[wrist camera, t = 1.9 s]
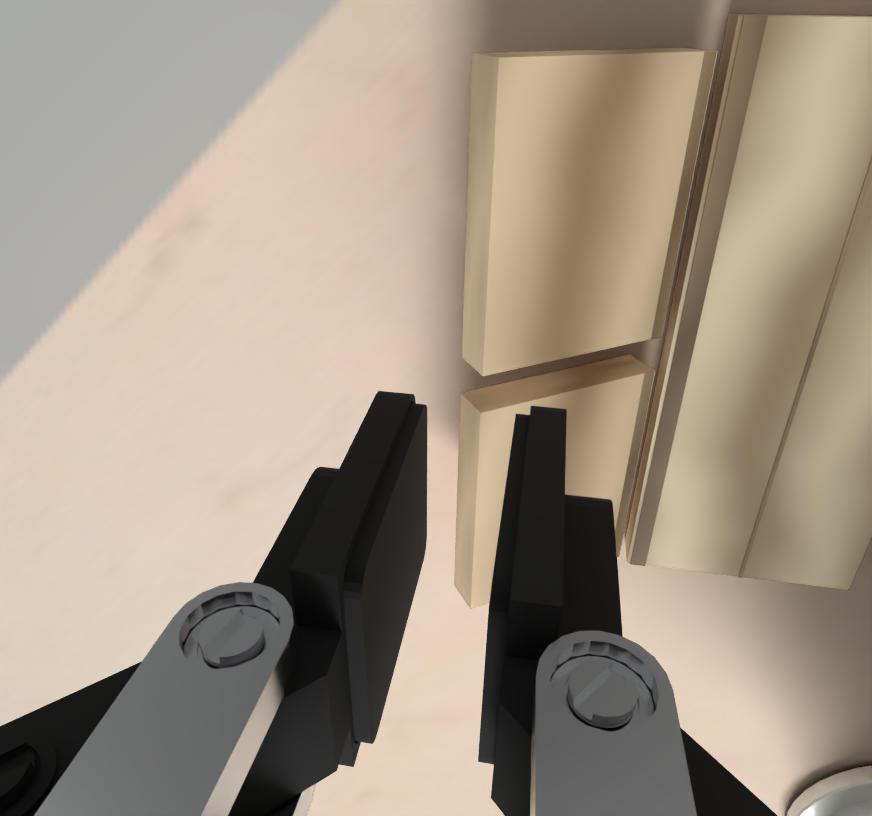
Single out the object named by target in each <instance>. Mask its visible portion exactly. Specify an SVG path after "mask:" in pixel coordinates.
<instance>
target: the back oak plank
mask: <svg viewBox="0 0 872 816" xmlns="http://www.w3.org/2000/svg"><path fill="white" fill-rule="evenodd" d="M654 375H655V370H654V369H652V368H651V367H649V366H648V365H646V364H644V363H643V362H641V361H640V360H638V359H637V358H635V357H633V356H632V355H630V354H629V355H625V356H620V357H616V358H612V359H607V360H603V361H598V362H594V363H590V364H585V365H581V366H576V367H572V368H568V369H563V370H559V371H555V372H550V373H546V374H541V375H537V376H533V377H528V378H524V379H519V380H515V381H511V382H506V383H502V384H498V385H493V386H489V387H484V388H480V389H476V390H471V391H467V392H462V393H461V396H460V426H459V456H458V486H457V516H456V546H455V576H454V585H455V587H456V588H457V590H458V591H459V593H460V594H461V596H462V597H463V599H464V600H465V602H466V603H467V605H468V606H469V608H470V609H473V608H476V607H479V606H481V605H484V604H487V603H490V594H491V586H492V578H493V570H494V563H495V556H496V549H497V542H498V535H499V528H500V521H501V514H502V507H503V500H504V493H505V486H506V479H507V472H508V465H509V458H510V451H511V444H512V437H513V430H514V423H515V416H516V414H526V415H530V409H531V406H540V407H551V408H561V409H567V422H566V467H565V494H566V495H575V496H584V497H593V498H602V499H611V501H612V503H613V512H614V525H615V539H616V553H617V557H619V555H620V550H621V545H622V539H623V534H624V529H625V524H626V519H627V514H628V509H629V504H630V498H631V493H632V488H633V483H634V478H635V473H636V468H637V463H638V457H639V452H640V447H641V442H642V437H643V432H644V427H645V422H646V416H647V411H648V406H649V401H650V396H651V391H652V386H653V381H654Z"/></svg>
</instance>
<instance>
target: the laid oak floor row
mask: <svg viewBox="0 0 872 816" xmlns="http://www.w3.org/2000/svg"><path fill="white" fill-rule="evenodd" d="M871 538H872V16H836V15H776V14H729V17H728V22H727V27H726V33H725V38H724V43H723V48H722V53H721V58H720V63H719V68H718V73H717V78H716V83H715V88H714V93H713V98H712V103H711V108H710V113H709V118H708V124H707V129H706V134H705V139H704V144H703V149H702V154H701V159H700V164H699V169H698V174H697V179H696V184H695V189H694V194H693V199H692V204H691V210H690V215H689V220H688V225H687V230H686V235H685V240H684V245H683V250H682V255H681V260H680V265H679V270H678V275H677V280H676V285H675V290H674V295H673V301H672V306H671V311H670V316H669V321H668V326H667V331H666V336H665V341H664V346H663V351H662V356H661V361H660V366H659V371H658V376H657V381H656V386H655V392H654V397H653V402H652V407H651V412H650V417H649V422H648V427H647V432H646V437H645V442H644V447H643V452H642V457H641V462H640V467H639V472H638V477H637V483H636V488H635V493H634V498H633V503H632V508H631V513H630V518H629V523H628V528H627V533H626V538H625V545H626V557H627V563H630V564H634V565H642V566H645V565H651V566H659V567H667V568H675V569H683V570H691V571H699V572H707V573H715V574H723V575H732V576H738V577H741V578H742V577H748V578H756V579H764V580H772V581H780V582H788V583H796V584H804V585H812V586H820V587H828V588H836V589H844V590H849V588H850V586H851V584H852V581H853V579H854V577H855V574H856V572H857V570H858V568H859V565H860V563H861V561H862V558H863V556H864V554H865V551H866V549H867V547H868V545H869V542H870V540H871Z"/></svg>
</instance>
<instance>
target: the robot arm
mask: <svg viewBox="0 0 872 816" xmlns="http://www.w3.org/2000/svg"><path fill="white" fill-rule="evenodd" d="M566 422H567V409H561V408H551V407H540V406H531V409H530V415H526V414H516V416H515V423H514V430H513V437H512V444H511V451H510V458H509V465H508V472H507V479H506V486H505V493H504V500H503V507H502V514H501V521H500V528H499V535H498V542H497V549H496V556H495V563H494V570H493V578H492V586H491V594H490V604H489V615H488V629H487V643H486V657H485V672H484V686H483V700H482V714H481V729H480V743H479V757H478V762H484V763H490V764H494V771H493V782H492V793H491V798H492V800H493V801H494V802H495V803H496V805H497V806H498V807H499V809H500V810H501V811H502V812H503V814H504V815H505V816H777V815H776V814H775V813H774V812H773V811H772V810H771V809H769V808H768V807H767V806H766V805H765V804H764V803H763V802H762V801H761V800H760V799H758V798H757V797H756V796H755V795H754V794H753V793H752V792H751V791H750V790H749V789H747V788H746V787H745V786H744V785H743V784H742V783H741V782H740V781H739V780H738V779H736V778H735V777H734V776H733V775H732V774H731V773H730V772H729V771H728V770H727V769H725V768H724V767H723V766H722V765H721V764H720V763H719V762H718V761H717V760H716V759H714V758H713V757H712V756H711V755H710V754H709V753H708V752H707V751H706V750H704V749H703V748H702V747H701V746H700V745H699V744H698V743H697V742H696V741H695V740H693V739H692V738H691V737H690V736H689V735H688V734H687V733H686V732H685V731H684V730H682V729H681V728H680V724H679V719H678V714H677V708H676V703H675V698H674V693H673V689H672V687H671V684H670V681H669V679H668V676H667V673H666V672H665V671H664V669H663V668H662V667H661V665H660V664H659V663H658V661H657V660H656V659H655V657H654V656H652V655H651V654H650V653H648V652H647V651H646V650H645V649H643V648H642V647H641V646H640V645H638V644H637V643H635V642H632V641H630V640H628V639H626V638H624V637H622V623H621V609H620V595H619V581H618V567H617V553H616V539H615V525H614V512H613V503H612V501H611V499H602V498H593V497H584V496H575V495H566V494H565V467H566ZM426 538H427V406H426V405H423V404H416V403H415V396H414V395H413V394H404V393H394V392H383V391H378V393H377V394H376V396H375V398H374V400H373V402H372V404H371V406H370V408H369V410H368V412H367V414H366V416H365V418H364V420H363V422H362V424H361V426H360V428H359V430H358V432H357V434H356V436H355V438H354V440H353V442H352V444H351V446H350V448H349V450H348V452H347V454H346V457H345V459H344V461H343V463H342V465H341V467H340V469H335V468H326V467H319V468H317V469H316V470H315V471H314V472H313V474H312V475H311V477H310V479H309V481H308V483H307V484H306V486H305V488H304V490H303V492H302V494H301V495H300V497H299V499H298V501H297V503H296V505H295V506H294V508H293V510H292V512H291V514H290V516H289V517H288V519H287V521H286V523H285V525H284V527H283V528H282V530H281V532H280V534H279V536H278V538H277V539H276V541H275V543H274V545H273V547H272V549H271V550H270V552H269V554H268V556H267V558H266V560H265V561H264V563H263V565H262V567H261V569H260V571H259V572H258V574H257V576H256V578H255V580H254V582H253V583H243V582H238V583H232V584H226V585H221V586H218V587H215V588H213V589H210V590H208V591H205V592H203V593H201V594H199V595H198V596H196V597H195V598H193V599H192V600H190V601H189V602H187V603H186V604H185V605H184V606H183V607H182V608H181V609H180V610H179V611H178V613H177V614H176V615H175V616H174V617H173V618H172V620H171V621H170V623H169V624H168V625H167V627H166V628H165V630H164V631H163V633H162V634H161V635H160V637H159V638H158V640H157V641H156V642H155V644H154V645H153V647H152V648H151V650H150V651H149V652H148V654H147V655H146V657H145V658H144V660H143V661H142V662H140V663H138V664H135V665H133V666H131V667H129V668H127V669H125V670H122V671H120V672H118V673H116V674H114V675H111V676H109V677H107V678H105V679H103V680H101V681H98V682H96V683H94V684H92V685H90V686H87V687H85V688H83V689H81V690H79V691H77V692H74V693H72V694H70V695H68V696H66V697H63V698H61V699H59V700H57V701H55V702H53V703H50V704H48V705H46V706H44V707H42V708H39V709H37V710H35V711H33V712H31V713H29V714H26V715H24V716H22V717H20V718H18V719H15V720H13V721H11V722H9V723H7V724H5V725H2V726H0V816H307V814H308V811H309V808H310V806H311V803H312V800H313V795H314V790H315V784H316V783H317V782H319V781H321V780H322V779H324V778H326V777H327V776H329V775H330V774H332V773H334V772H335V771H337V768H338V764H340V765H346V766H351V767H354V764H355V760H356V757H357V753H358V750H359V746H360V743H361V742H365V743H371V744H372V743H373V742H374V740H375V738H376V735H377V732H378V728H379V724H380V720H381V717H382V713H383V709H384V706H385V702H386V698H387V694H388V691H389V687H390V683H391V679H392V676H393V672H394V668H395V664H396V661H397V657H398V653H399V650H400V646H401V642H402V638H403V635H404V631H405V627H406V623H407V620H408V616H409V612H410V608H411V605H412V601H413V597H414V593H415V590H416V586H417V582H418V579H419V575H420V571H421V567H422V564H423V560H424V555H425V549H426ZM787 816H872V765H870V766H864V767H858V768H854V769H850V770H847V771H843V772H840V773H837V774H834V775H832V776H830V777H827V778H825V779H823V780H820V781H819V782H817V783H815V784H814V785H812V786H811V787H809V788H808V789H806V790H805V791H804V792H803V793H802V794H801V795H800V796H799V797H798V798H797V799H796V800H795V801H794V802H793V804H792V805H791V807H790V809H789V811H788V813H787Z"/></svg>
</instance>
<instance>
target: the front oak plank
mask: <svg viewBox="0 0 872 816" xmlns="http://www.w3.org/2000/svg"><path fill="white" fill-rule="evenodd" d="M717 53H718V51H712V50H702V49H692V48H646V49H608V50H569V51H531V52H493V53H472V66H471V96H470V126H469V156H468V186H467V216H466V246H465V276H464V306H463V336H462V358H463V359H464V360H465V361H466V362H467V363H468V364H469V365H471V366H472V367H473V368H474V369H475V370H476V371H477V372H478V373H479V374H480V375H482V376H487V375H491V374H496V373H500V372H505V371H509V370H514V369H518V368H523V367H528V366H532V365H537V364H541V363H546V362H550V361H555V360H559V359H564V358H568V357H573V356H577V355H582V354H586V353H591V352H595V351H600V350H604V349H609V348H613V347H618V346H622V345H627V344H631V343H636V342H641V341H645V340H650V339H655V338H660V337H662V334H663V329H664V324H665V319H666V314H667V309H668V304H669V299H670V293H671V288H672V283H673V278H674V273H675V268H676V263H677V258H678V252H679V247H680V242H681V237H682V232H683V227H684V222H685V217H686V211H687V206H688V201H689V196H690V191H691V186H692V181H693V176H694V170H695V165H696V160H697V155H698V150H699V145H700V140H701V135H702V129H703V124H704V119H705V114H706V109H707V104H708V99H709V94H710V88H711V83H712V78H713V73H714V68H715V63H716V58H717Z"/></svg>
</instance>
